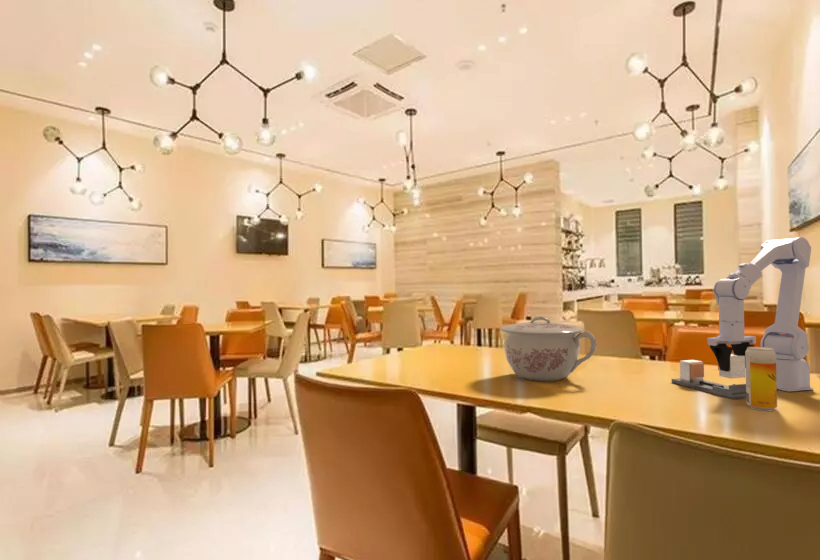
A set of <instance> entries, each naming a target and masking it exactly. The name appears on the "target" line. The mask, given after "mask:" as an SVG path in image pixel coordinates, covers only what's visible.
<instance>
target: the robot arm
mask: <svg viewBox="0 0 820 560" xmlns="http://www.w3.org/2000/svg"><path fill="white" fill-rule="evenodd" d="M811 254H812V246H811V245H810V243H809V241H808V240H807V238H805V237H804V236H798V237H792V238H791V237H790V238H781V239H780V238H779V239H767V240H765V241H764V242H763V243H762V244H761V245H760V251H759V252H758V253H757V254H756V255H755V256H754V257H753V259H752V260H751V261H750V262H744V263H739V264H738V267H737V268H736V269H735V270H734V271H733V272H731V273H729V274H728V276H727V277H726V278H721V279H719V280H718V281H716V282H715V284H714V286H713V288H712V292H713V295H714V297H715V300H716V304H717V305H718V323H719V324H718V326H719V332H718V333H719V334H718V335H716V336H713V337H707V345H708V346H709V349H711V351H712V353H713V354H714V356H715V359H716V361H717V365H718V364H719V368H720V370H722V371H729V366H730V356H731V354H737V355H744V356H745V351H746V350H747V347H756V346H755V344H757V337H756V336H753V335H745V302H744V301H745V300H744V299H746V298H747V297H749V294H750V290H751V289H752V286H753V285H754V284H755V283H756V282H757V281H758V280H760V279H761V277H762V273H763V272H762V271H763V270H765V269H766V268H767V267H768V266H770V265H772V267H774V268H775V269H778V270H780V272H781V278H780V285H779V292H778V298H777V306H776V313H775V318H774V323H773V324H771V325H770V326H768V327H766V328H765V330H764V334H763V336H762V338H761V339H760V347H767V348H773V349H774V351H775V353H776V378H777V390H778V391H779V390H780V391H784V392H789V393H790V392H799V391H809V390H810V391H811V390H812V391H813V390H814V387H811V374H810V373H811V369H810V368H811V367H810V364H809V363H808V361H806V360H805V359H804V358H805V357H806V356H807V355H808V353H809V350H810V346H809V342H808V338H809V335H808V333H807V332H806V331H805V330H803V329H802V328H801V327H800V326H798V325H799V318H800V312H801V306H802V305H801V304H802V297H803V290H804V283H805V275H806V269H807V268H809V267H810V261H811ZM728 345H730V346H728ZM732 352H733V353H732ZM745 369H746V363H745Z"/></svg>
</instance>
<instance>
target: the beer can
mask: <svg viewBox="0 0 820 560" xmlns="http://www.w3.org/2000/svg"><path fill="white" fill-rule="evenodd" d="M745 363H746V368H745V384H746V398H745V399H746V405H748V407H749V408H750V409H753V410H756V411H757V410H758V411H764V412H769V411H770V412H771V411H772V412H773V411H775V410H776V408H778V392H777V391H778V389H777V378H776V353H775V351H774V349H773V348H767V347H761V346H755V347H747V350H746V351H745Z"/></svg>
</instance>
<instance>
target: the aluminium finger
mask: <svg viewBox="0 0 820 560" xmlns="http://www.w3.org/2000/svg"><path fill="white" fill-rule="evenodd" d="M717 371H718V373H719V374H718V376H719V377H721V378H722V377H723V378H727V379H742V378H743V379H744V378H746V368H745V356H744V355H737V354H734V353H731V356H730V366H729V371H722V370H720V368H719V364H718V363H717Z"/></svg>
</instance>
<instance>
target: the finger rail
mask: <svg viewBox="0 0 820 560" xmlns="http://www.w3.org/2000/svg"><path fill="white" fill-rule="evenodd" d="M679 374H680V376H679V378H671V384H674V383H675V385H678V384H679V385H678V386H682V385H683V387H686V386H687V387H686V388H689V387H690V388H689V389H693V388H694V389H693V390H697V389H698V390H697V391H700V390H701V391H700V392H704V391H705V393H708V394H713V395H715V394H716V396H719V395H720V396H719V397H723V398H728V399H730V398H731V400H739V399H746V383H741V384H736V383H733V384H729V385H726V384H723V383H718V382H714V381H709V380H706V379H704V378H705V364H704V362H703V361H702V360H697V359H687V360H686V359H685V360H679Z"/></svg>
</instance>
